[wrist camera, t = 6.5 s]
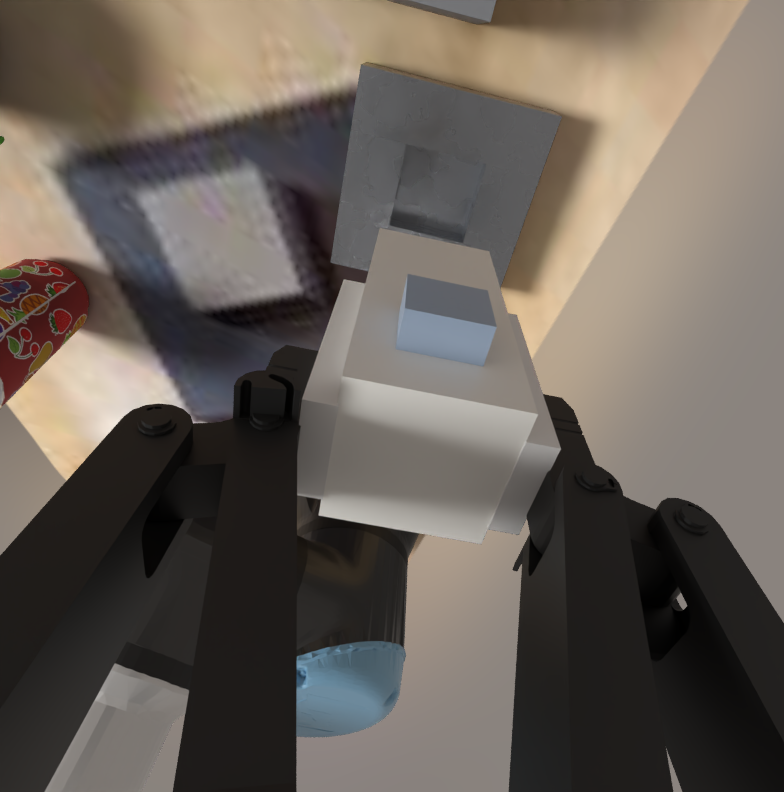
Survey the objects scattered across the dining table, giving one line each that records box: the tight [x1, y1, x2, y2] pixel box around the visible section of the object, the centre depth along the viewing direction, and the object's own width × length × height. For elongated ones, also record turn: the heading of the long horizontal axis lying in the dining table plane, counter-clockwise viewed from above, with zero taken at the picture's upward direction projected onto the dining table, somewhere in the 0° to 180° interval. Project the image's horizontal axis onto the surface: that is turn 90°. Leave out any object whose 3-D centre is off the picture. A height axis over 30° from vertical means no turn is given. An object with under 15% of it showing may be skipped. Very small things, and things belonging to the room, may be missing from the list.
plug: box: [319, 228, 538, 544], centre depth 15 cm, size 5×4×10 cm
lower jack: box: [331, 62, 562, 287], centre depth 38 cm, size 13×13×3 cm
